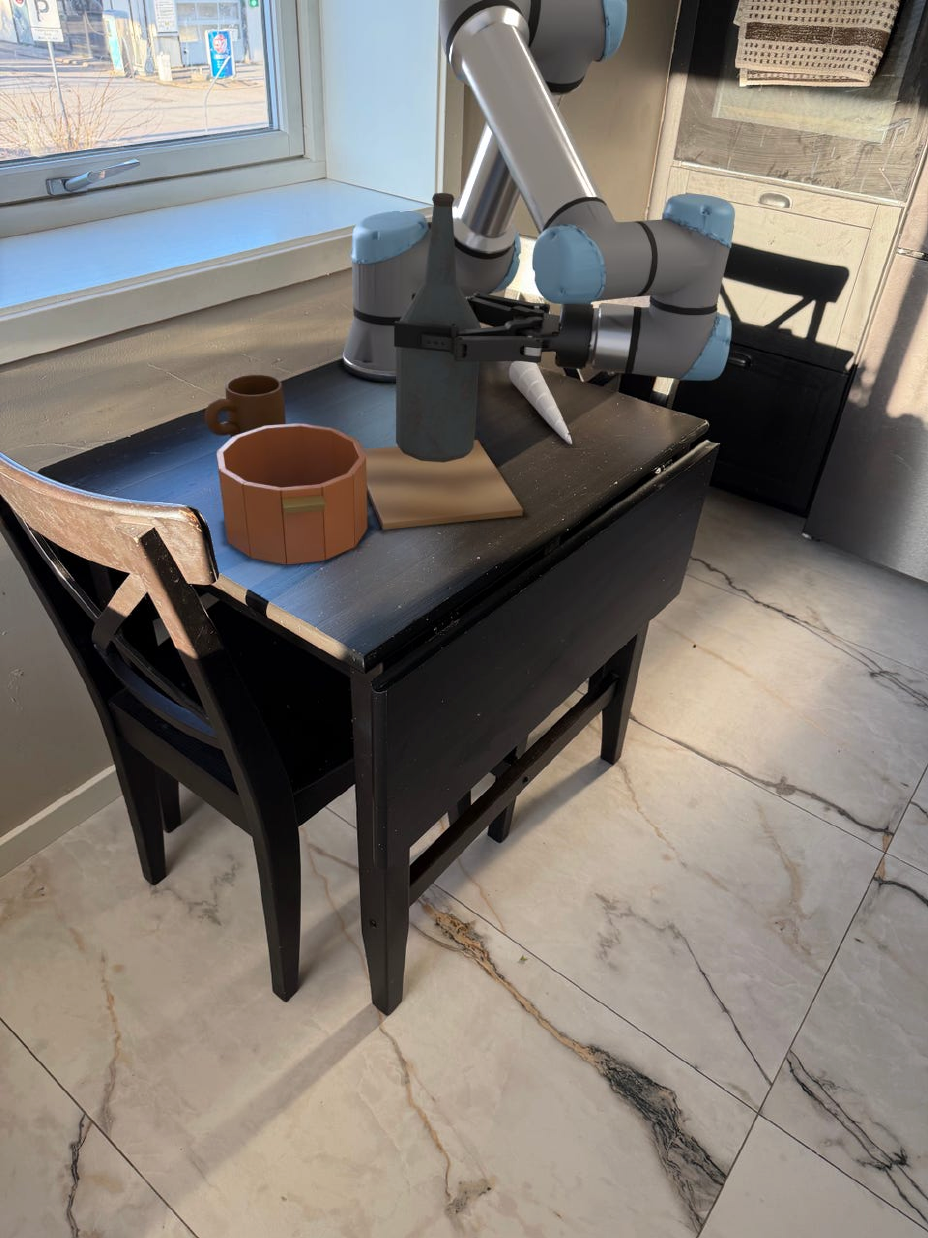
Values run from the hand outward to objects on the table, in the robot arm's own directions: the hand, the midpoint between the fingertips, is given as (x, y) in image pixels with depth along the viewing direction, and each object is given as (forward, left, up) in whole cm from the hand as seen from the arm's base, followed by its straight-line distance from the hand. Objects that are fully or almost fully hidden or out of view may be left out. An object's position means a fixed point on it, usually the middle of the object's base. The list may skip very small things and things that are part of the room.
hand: (403, 318), depth 108 cm
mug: (-11, -19, -22) cm, 31 cm away
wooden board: (+2, +4, -22) cm, 22 cm away
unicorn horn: (-18, +27, -22) cm, 39 cm away
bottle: (+2, +4, -16) cm, 17 cm away
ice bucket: (+9, -15, -22) cm, 28 cm away
